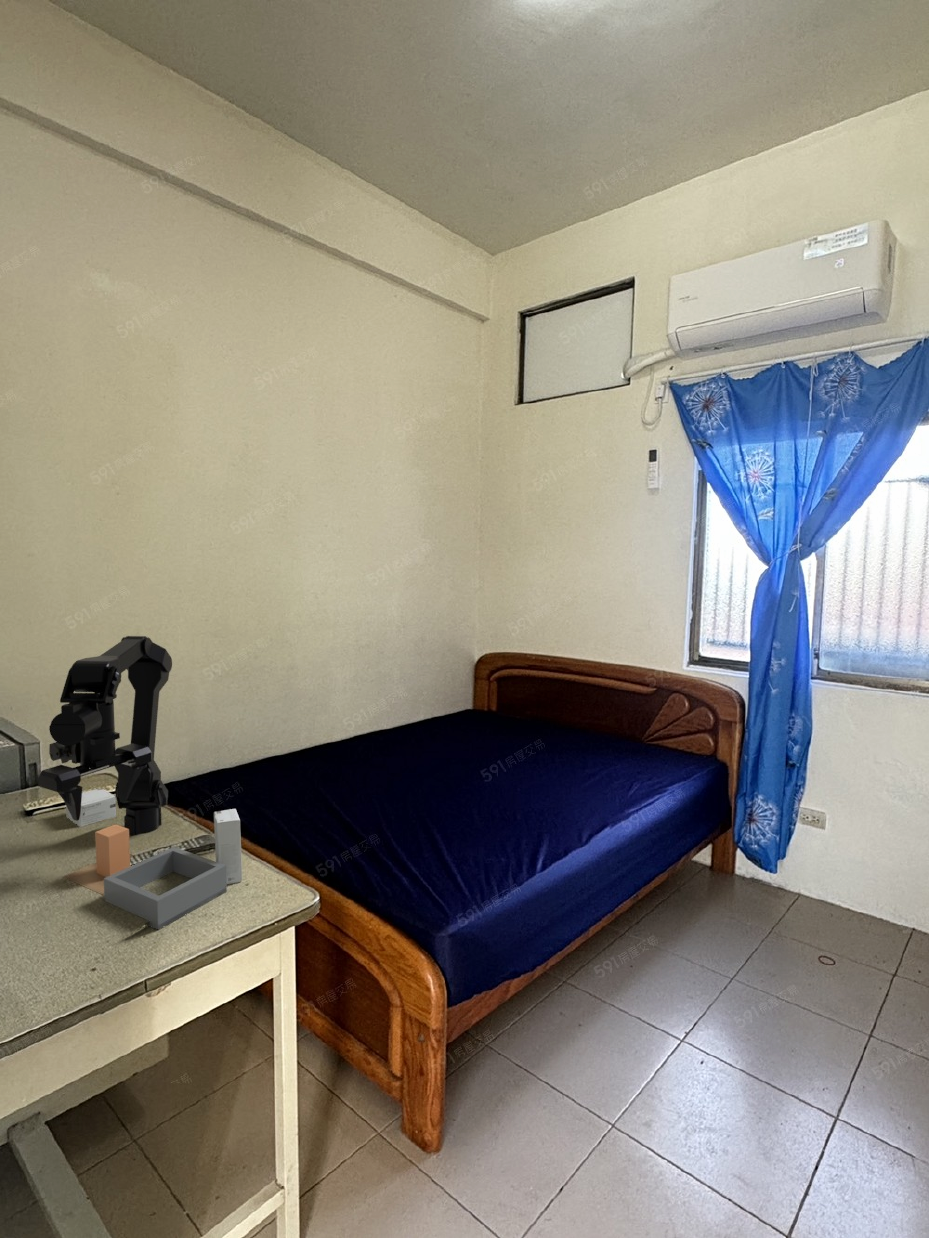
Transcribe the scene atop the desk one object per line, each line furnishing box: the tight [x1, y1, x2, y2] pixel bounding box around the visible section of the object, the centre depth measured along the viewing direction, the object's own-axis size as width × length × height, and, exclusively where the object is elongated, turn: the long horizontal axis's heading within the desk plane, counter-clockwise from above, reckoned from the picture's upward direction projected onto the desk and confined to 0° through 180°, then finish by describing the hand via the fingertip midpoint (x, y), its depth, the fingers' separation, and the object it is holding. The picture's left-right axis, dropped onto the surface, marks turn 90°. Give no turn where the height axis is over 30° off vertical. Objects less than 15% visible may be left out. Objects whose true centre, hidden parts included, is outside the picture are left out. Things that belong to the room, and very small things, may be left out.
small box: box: [65, 787, 117, 828], centre depth 150 cm, size 8×8×5 cm
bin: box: [103, 846, 228, 931], centre depth 117 cm, size 14×14×5 cm
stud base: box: [62, 853, 136, 896], centre depth 124 cm, size 12×12×6 cm
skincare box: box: [213, 808, 243, 886], centre depth 124 cm, size 6×4×12 cm
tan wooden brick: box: [94, 824, 131, 877], centre depth 123 cm, size 4×4×8 cm
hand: (100, 810), depth 122 cm, fingers open, 9 cm apart
